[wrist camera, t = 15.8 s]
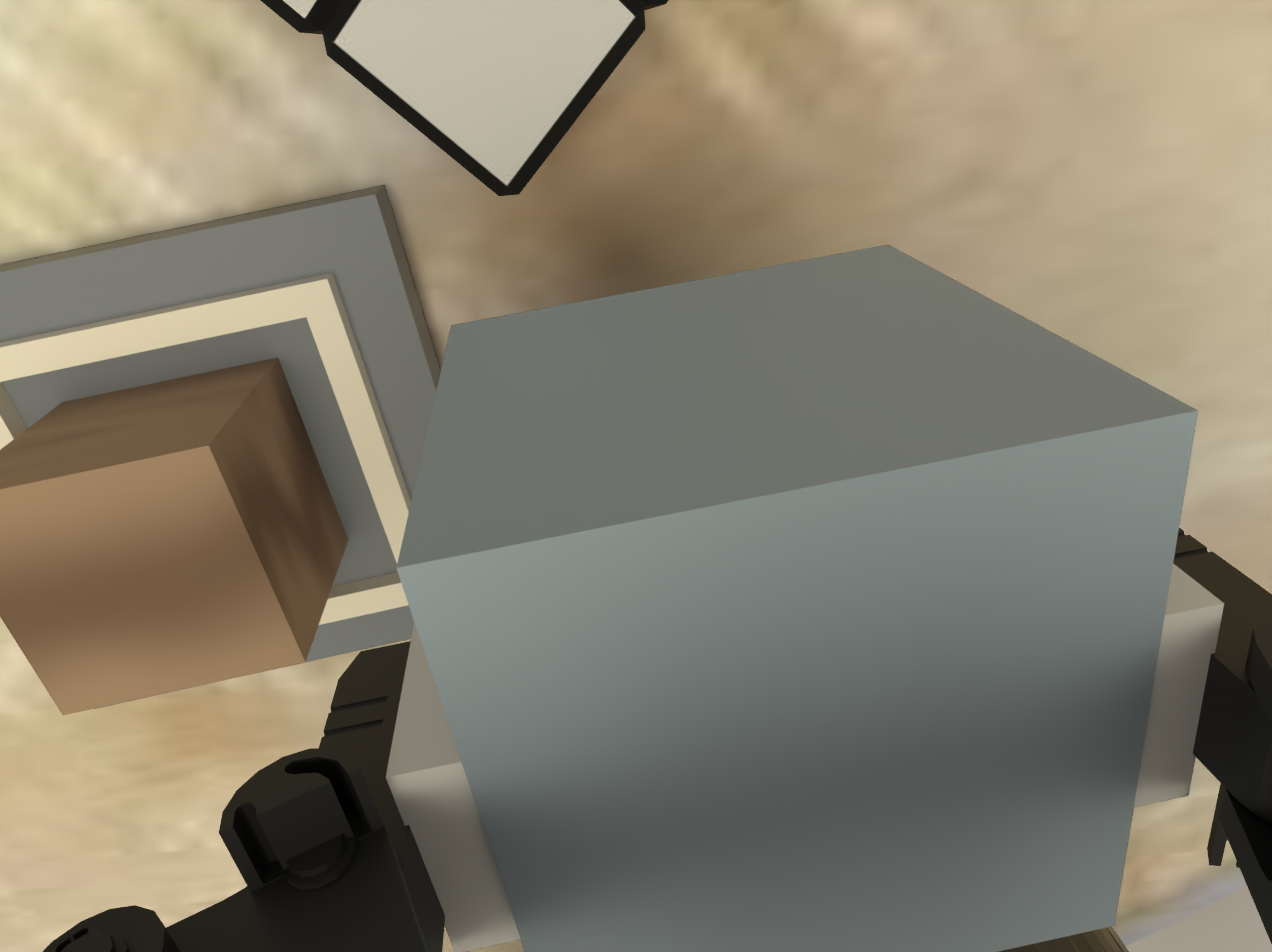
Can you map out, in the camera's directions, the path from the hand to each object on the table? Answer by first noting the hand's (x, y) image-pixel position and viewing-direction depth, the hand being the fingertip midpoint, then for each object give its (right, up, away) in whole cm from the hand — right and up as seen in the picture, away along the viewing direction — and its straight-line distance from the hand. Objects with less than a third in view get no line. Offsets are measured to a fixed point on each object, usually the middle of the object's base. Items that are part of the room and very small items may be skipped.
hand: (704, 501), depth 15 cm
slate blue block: (0, 0, 0) cm, 0 cm away
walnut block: (-16, 0, +15) cm, 21 cm away
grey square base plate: (-16, +1, +16) cm, 23 cm away
